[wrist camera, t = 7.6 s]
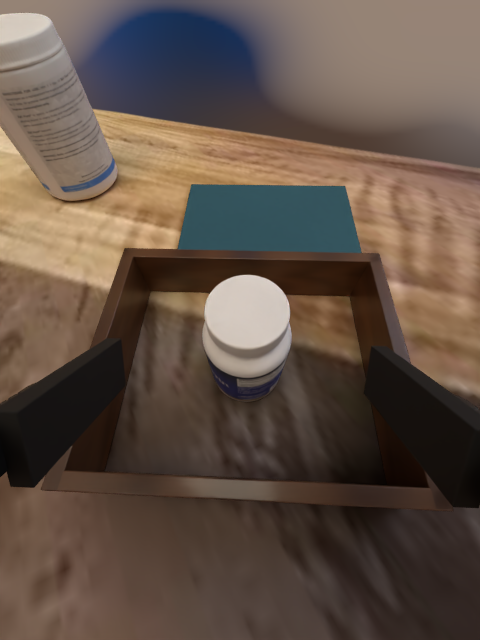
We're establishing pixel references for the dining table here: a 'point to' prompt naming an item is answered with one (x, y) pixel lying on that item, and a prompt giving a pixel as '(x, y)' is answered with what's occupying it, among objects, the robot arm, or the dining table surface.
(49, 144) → the supplement tub
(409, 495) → the wooden tray
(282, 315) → the pill bottle
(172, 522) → the dining table surface
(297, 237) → the mat
